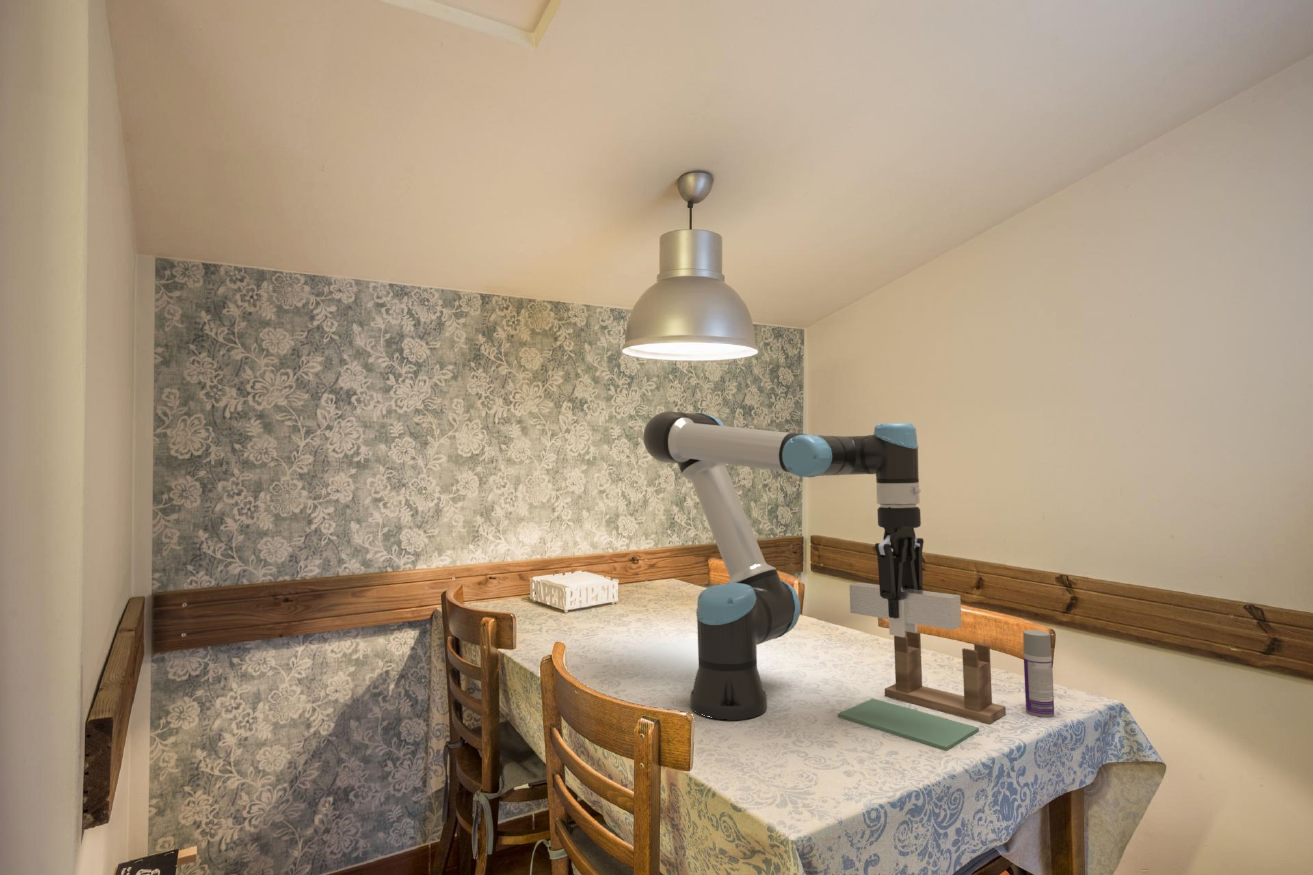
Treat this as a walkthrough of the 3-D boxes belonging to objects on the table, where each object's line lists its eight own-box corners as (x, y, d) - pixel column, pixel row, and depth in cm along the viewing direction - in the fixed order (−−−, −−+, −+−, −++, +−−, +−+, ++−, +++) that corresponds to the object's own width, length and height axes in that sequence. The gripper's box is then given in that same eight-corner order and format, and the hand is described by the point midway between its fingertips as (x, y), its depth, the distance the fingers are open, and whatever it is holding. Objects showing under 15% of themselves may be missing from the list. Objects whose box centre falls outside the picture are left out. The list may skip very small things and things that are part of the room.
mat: (946, 750, 111) (946, 746, 111) (838, 716, 127) (838, 713, 127) (978, 730, 119) (978, 727, 119) (872, 701, 135) (872, 698, 135)
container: (1028, 706, 130) (1025, 628, 131) (1056, 711, 127) (1052, 631, 128) (1023, 713, 127) (1020, 633, 127) (1052, 719, 124) (1048, 636, 124)
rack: (989, 724, 122) (986, 654, 123) (884, 695, 138) (882, 634, 138) (1005, 714, 127) (1003, 647, 127) (902, 687, 142) (900, 628, 143)
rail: (951, 629, 115) (950, 598, 115) (850, 612, 130) (849, 584, 130) (961, 626, 117) (960, 595, 118) (860, 609, 133) (859, 582, 133)
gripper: (893, 509, 116) (898, 645, 115) (939, 504, 127) (944, 628, 126) (855, 507, 122) (860, 637, 121) (902, 503, 133) (907, 622, 132)
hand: (903, 632), depth 124 cm, fingers closed on rail, 4 cm apart
